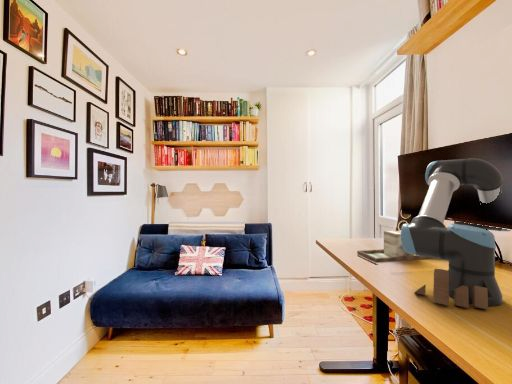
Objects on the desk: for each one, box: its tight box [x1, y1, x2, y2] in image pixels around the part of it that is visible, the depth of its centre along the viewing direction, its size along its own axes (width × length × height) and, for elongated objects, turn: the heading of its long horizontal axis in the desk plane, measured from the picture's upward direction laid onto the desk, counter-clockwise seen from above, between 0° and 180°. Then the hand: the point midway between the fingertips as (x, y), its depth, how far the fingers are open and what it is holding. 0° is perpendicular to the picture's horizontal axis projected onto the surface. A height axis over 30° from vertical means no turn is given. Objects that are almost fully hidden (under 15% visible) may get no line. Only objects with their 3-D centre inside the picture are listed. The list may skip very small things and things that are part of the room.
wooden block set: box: [414, 268, 489, 311], centre depth 77 cm, size 18×9×10 cm, turn 56°
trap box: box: [356, 248, 432, 266], centre depth 126 cm, size 44×15×3 cm, turn 100°
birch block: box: [383, 230, 415, 257], centre depth 125 cm, size 10×9×12 cm
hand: (409, 241), depth 126 cm, fingers closed
